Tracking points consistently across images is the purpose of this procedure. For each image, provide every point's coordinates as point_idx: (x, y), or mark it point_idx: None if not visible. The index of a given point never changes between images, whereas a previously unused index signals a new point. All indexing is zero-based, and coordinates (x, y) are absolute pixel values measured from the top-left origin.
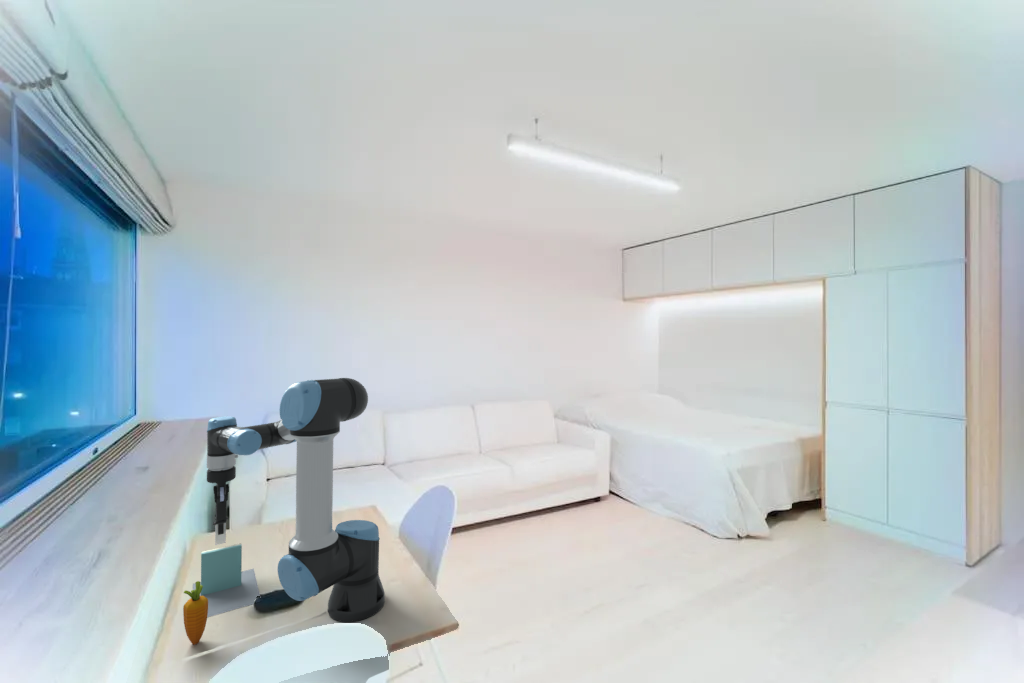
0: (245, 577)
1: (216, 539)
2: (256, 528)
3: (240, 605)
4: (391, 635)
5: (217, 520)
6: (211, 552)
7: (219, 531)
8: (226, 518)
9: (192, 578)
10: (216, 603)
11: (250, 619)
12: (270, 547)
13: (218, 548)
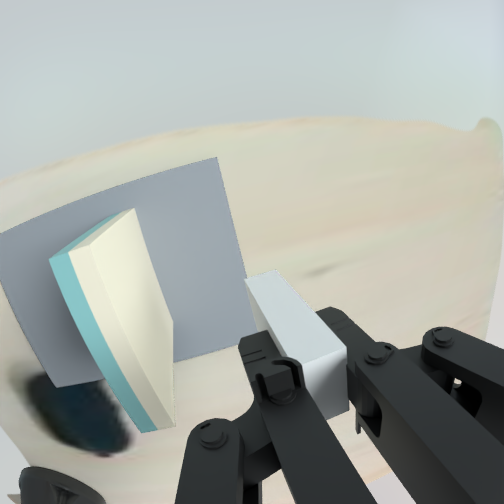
0: (203, 328)
1: (253, 300)
2: (492, 260)
3: (40, 346)
4: (11, 494)
5: (182, 477)
6: (70, 312)
7: (244, 362)
8: (357, 424)
9: (277, 142)
10: (54, 281)
11: (4, 367)
12: (392, 332)
13: (117, 341)
